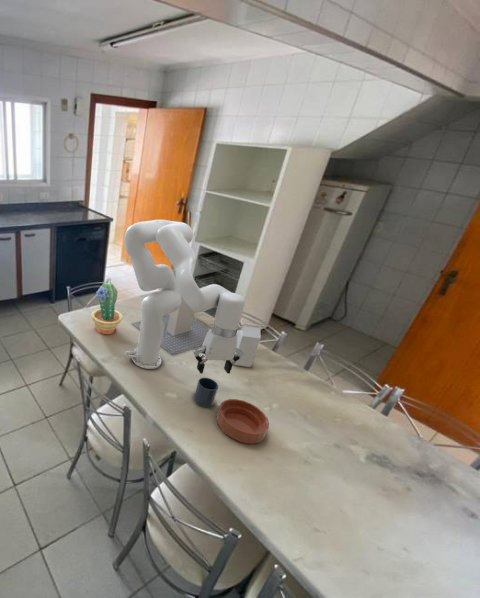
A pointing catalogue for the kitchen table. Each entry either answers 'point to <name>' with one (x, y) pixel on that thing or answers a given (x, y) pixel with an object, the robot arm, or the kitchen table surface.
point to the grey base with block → (182, 330)
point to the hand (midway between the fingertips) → (213, 371)
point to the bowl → (242, 421)
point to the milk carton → (248, 343)
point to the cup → (205, 392)
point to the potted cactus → (106, 309)
